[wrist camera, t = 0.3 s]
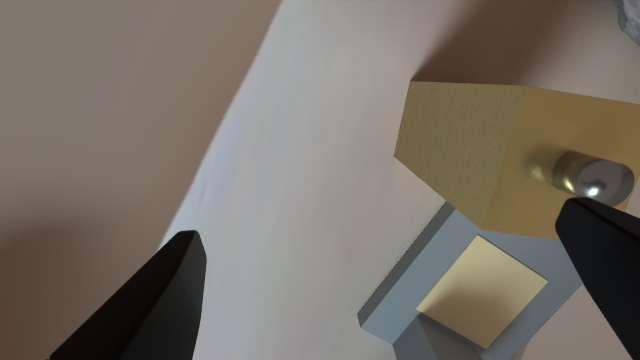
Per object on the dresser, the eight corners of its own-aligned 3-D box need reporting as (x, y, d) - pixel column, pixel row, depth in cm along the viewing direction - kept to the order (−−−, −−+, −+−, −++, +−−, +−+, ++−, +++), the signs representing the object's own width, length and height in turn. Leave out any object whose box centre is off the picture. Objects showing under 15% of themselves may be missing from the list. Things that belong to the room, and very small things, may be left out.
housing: (463, 166, 24) (652, 268, 11) (393, 156, 24) (507, 252, 11) (483, 93, 23) (724, 113, 10) (409, 81, 22) (563, 87, 9)
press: (471, 376, 30) (532, 484, 22) (357, 314, 27) (380, 410, 19) (588, 250, 27) (707, 322, 19) (472, 168, 24) (554, 212, 17)
